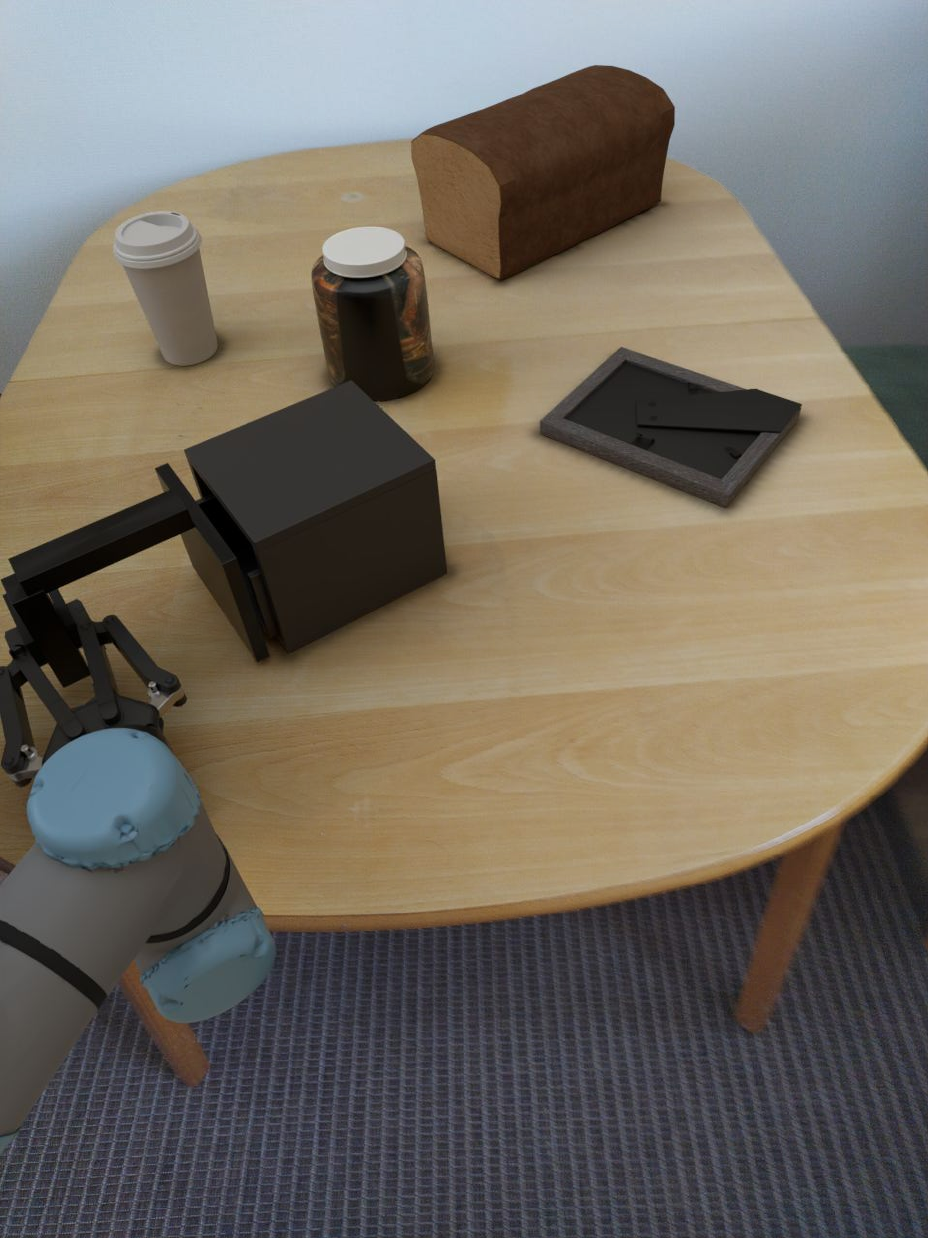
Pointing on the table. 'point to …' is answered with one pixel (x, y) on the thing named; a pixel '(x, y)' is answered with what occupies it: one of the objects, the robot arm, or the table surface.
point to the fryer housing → (328, 508)
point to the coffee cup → (169, 283)
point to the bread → (544, 168)
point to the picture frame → (673, 424)
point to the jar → (373, 312)
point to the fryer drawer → (116, 537)
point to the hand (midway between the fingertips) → (33, 596)
